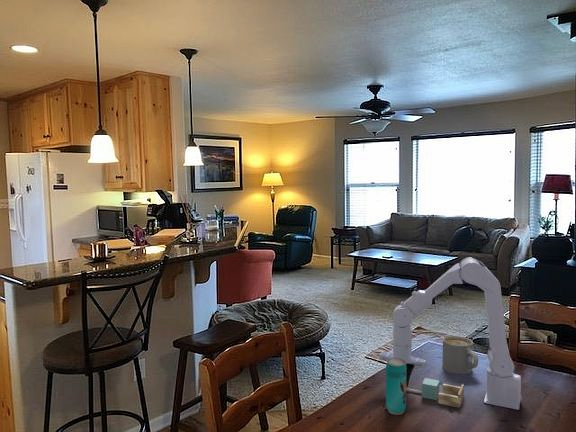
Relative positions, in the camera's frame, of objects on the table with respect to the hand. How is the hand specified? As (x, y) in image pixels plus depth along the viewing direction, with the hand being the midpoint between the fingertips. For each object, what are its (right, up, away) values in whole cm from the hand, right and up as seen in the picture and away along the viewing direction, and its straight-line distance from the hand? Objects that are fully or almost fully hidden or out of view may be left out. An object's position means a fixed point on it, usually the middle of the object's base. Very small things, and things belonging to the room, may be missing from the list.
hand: (402, 385), depth 151 cm
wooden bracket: (+13, -2, -7) cm, 15 cm away
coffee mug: (+24, 0, +14) cm, 28 cm away
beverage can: (-5, -3, -13) cm, 14 cm away
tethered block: (+4, -2, -2) cm, 5 cm away
